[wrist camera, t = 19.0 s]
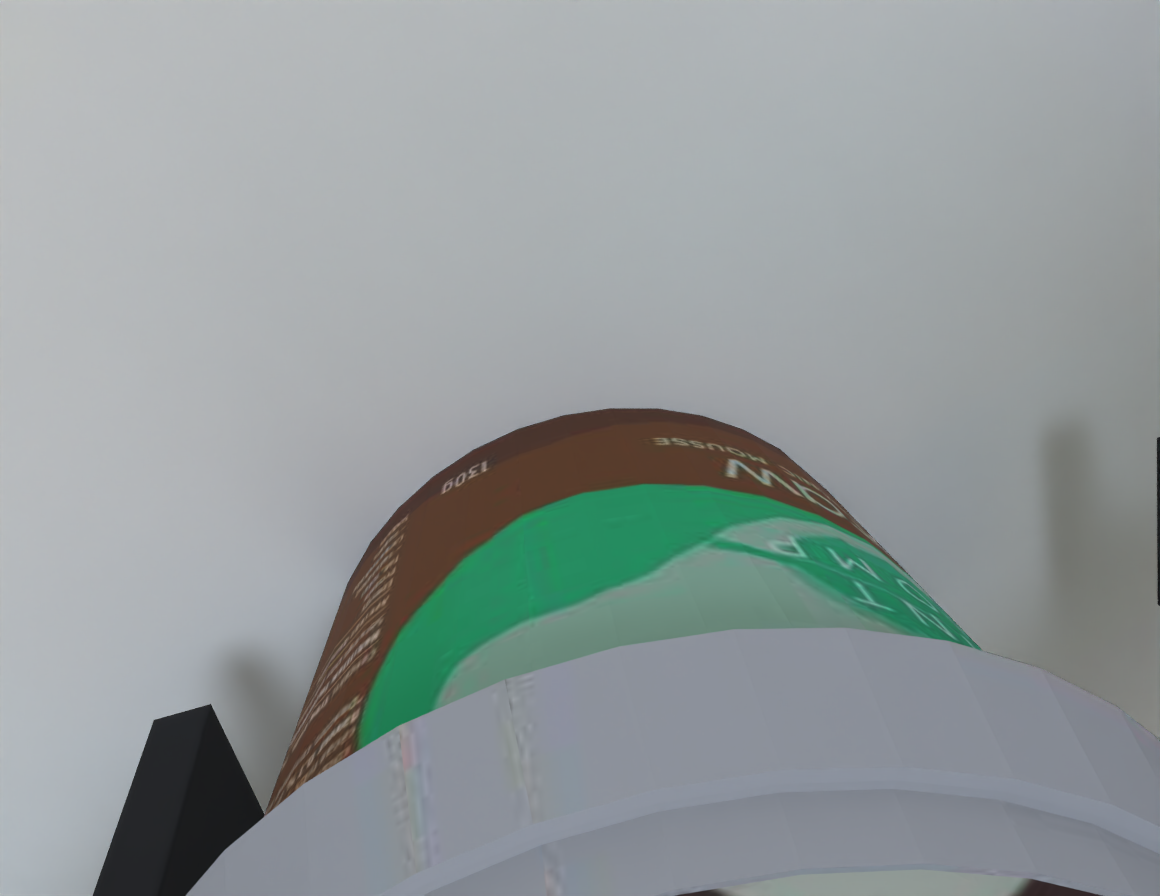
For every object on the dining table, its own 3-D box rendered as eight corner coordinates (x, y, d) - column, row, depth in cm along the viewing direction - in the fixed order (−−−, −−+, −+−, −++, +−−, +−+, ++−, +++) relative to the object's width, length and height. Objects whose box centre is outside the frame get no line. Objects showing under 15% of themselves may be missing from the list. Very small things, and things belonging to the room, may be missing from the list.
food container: (1082, 502, 18) (1704, 1022, 9) (890, 770, 20) (1253, 1413, 11) (410, 195, 15) (369, 547, 6) (257, 552, 17) (51, 1229, 8)
